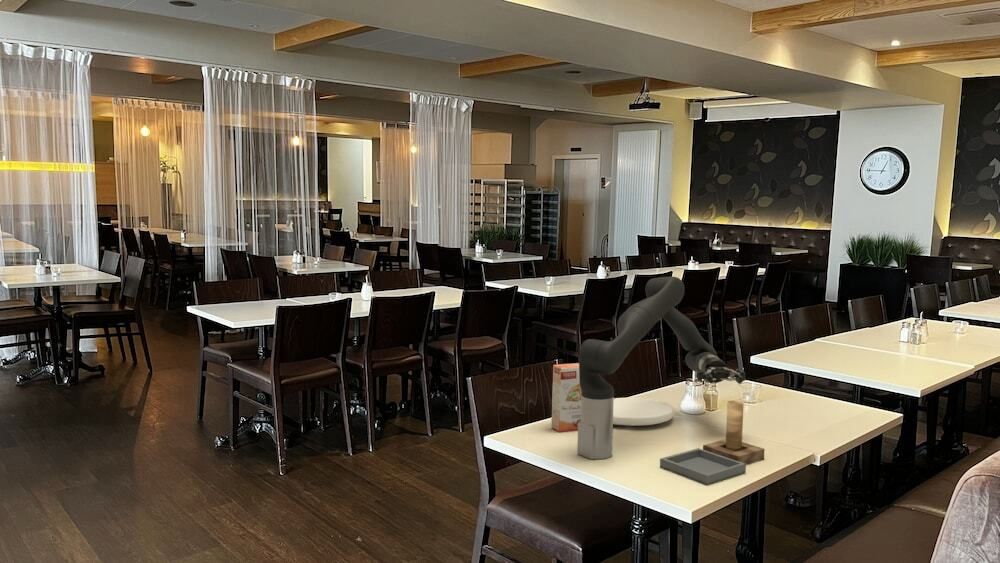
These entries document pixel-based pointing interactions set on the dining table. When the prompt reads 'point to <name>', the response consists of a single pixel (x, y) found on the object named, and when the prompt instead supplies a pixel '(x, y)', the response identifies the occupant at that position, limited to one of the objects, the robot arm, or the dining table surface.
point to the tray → (703, 466)
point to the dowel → (734, 425)
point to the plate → (640, 411)
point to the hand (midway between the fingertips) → (726, 380)
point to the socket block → (744, 455)
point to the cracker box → (566, 397)
